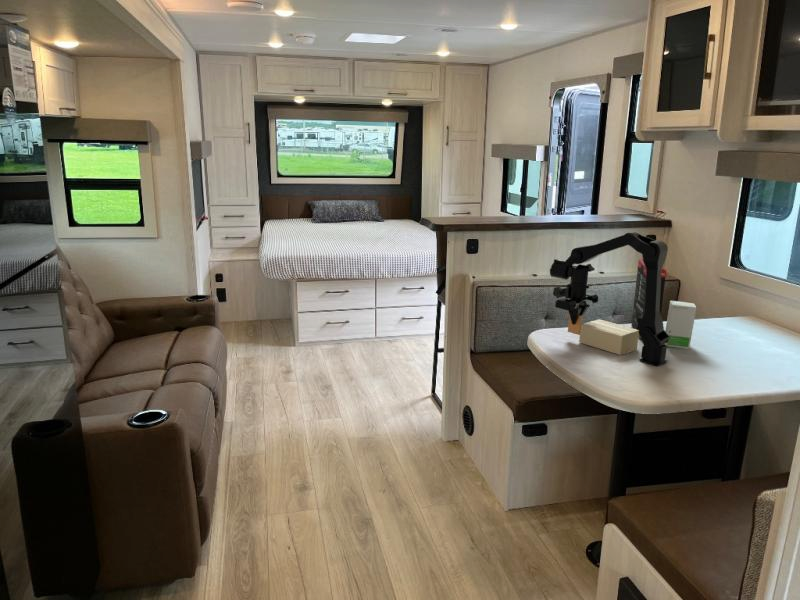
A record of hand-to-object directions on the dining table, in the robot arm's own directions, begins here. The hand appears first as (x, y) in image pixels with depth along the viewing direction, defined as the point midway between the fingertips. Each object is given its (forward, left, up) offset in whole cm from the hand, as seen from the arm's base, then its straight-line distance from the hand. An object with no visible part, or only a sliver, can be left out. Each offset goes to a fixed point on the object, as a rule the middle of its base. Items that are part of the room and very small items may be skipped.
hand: (574, 323), depth 213 cm
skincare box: (-25, -27, -7) cm, 37 cm away
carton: (-11, -6, -7) cm, 14 cm away
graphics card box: (-11, -29, -7) cm, 32 cm away
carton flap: (-8, 0, -6) cm, 10 cm away
